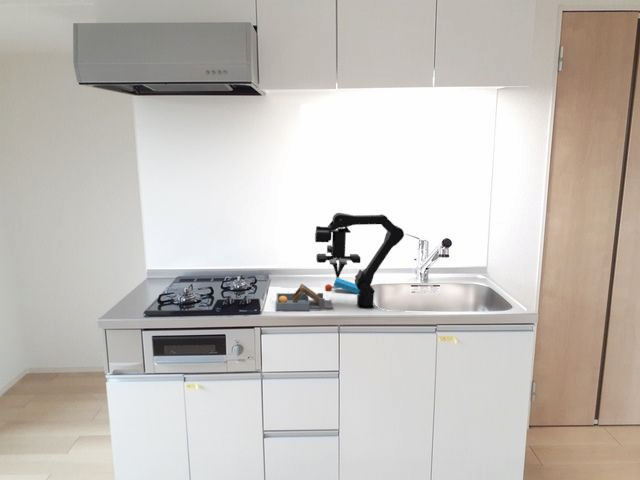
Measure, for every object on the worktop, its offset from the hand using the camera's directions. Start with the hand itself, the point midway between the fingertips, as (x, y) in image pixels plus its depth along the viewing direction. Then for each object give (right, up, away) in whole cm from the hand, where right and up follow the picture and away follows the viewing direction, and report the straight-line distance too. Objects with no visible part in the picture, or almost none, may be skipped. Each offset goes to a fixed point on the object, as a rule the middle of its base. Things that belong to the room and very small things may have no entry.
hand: (337, 277), depth 203 cm
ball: (-24, -10, 0) cm, 26 cm away
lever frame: (-7, -13, +2) cm, 15 cm away
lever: (+4, -9, +25) cm, 27 cm away
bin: (-20, -13, +1) cm, 23 cm away
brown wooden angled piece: (-9, -13, +2) cm, 16 cm away
